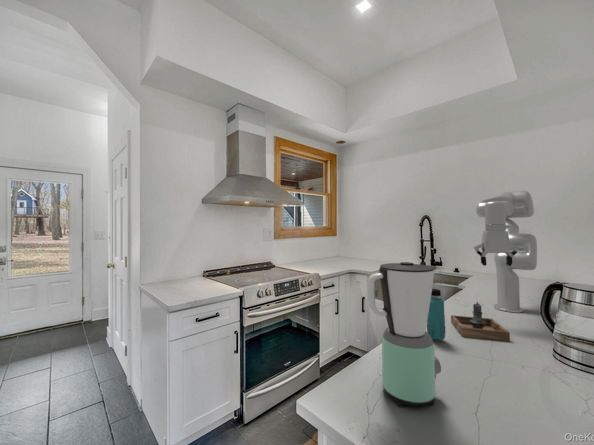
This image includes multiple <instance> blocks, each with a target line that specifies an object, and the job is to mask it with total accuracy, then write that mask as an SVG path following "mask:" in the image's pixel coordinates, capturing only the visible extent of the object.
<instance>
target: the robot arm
mask: <svg viewBox="0 0 594 445" xmlns="http://www.w3.org/2000/svg"><path fill="white" fill-rule="evenodd" d="M475 209H476V210H475V211H476V215H477V216H478V217H480V218H484V224H485V225H484V229H485V230H484V231H482V236H481V243H480V244H478V245H476V246H474V247H473V249H474V251H475V252H476V254H477V255H479V256H480V263H481V265H483V266H487V257H486V255H487V254H494V258H493V259H494V263H495V269H496V270H495V271H496V289H497V290H496V294H497V295H496V297H497V298H496V299H497V300H496V301H497V303H494V305H493V307H494V309H497V310H499V311H503V312H508V313H517V314H519V313H523V312H524V308H523V307H521V305H520V303H521V302H520V301H521V300H520V298H521V297H520V277H519V275H518V274H517V273H516V272H515V270H519V271H520V270H522V271H534V270H535V269H536V268H537V265H538V242H537V241H538V240H537V238H536V236H535V235H534V234H531V233H520V226H519V225H518V223H516V222H515V220H514V221H513V220H512V219H514V218H515V219H516V218H517V219H518V218H530V217H532V216H534V213H535V208H534V202H533V198H532V196H531V193H530V192H528V191H527V190H515V191H513V190H512V191H505V192H501V193H499V194H498V195H496V196H495V197H490V198H487V199H483V200H482V199H481V201H479V202H478V203H477V205H476V208H475ZM511 218H512V219H511ZM480 249H481V251H482V252H481V251H480Z"/></svg>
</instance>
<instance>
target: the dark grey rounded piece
mask: <svg viewBox="0 0 594 445" xmlns="http://www.w3.org/2000/svg"><path fill="white" fill-rule="evenodd" d="M472 308H473V309H472V315H473V316H472V317H473V319H470V323H471V325H472V326H473V327H471V328H477V329H483V327H485V324H486V322H485V321H483V320H482V318H483V316H482V314H483V312H482V305H481V304H479V302H478V301H476V303H474V304H473V306H472Z"/></svg>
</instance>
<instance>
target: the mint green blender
mask: <svg viewBox="0 0 594 445" xmlns="http://www.w3.org/2000/svg"><path fill="white" fill-rule="evenodd" d="M437 268H438V266H436V265H429V264H420V263H419V264H416V263H414V262H409V261H408V262H407V261H404V262H403V261H401V262H399V263H397V262H395V263H393V262H392V263H383V264H380V266H379V271H378V272H375V273H372V274H370V275H369V277H368V280H367V302H368V307H369V309H370V311H371V312H373V314H375V315H376V316H379V317H385V319H386V322H387V327H386V329H384V331H383V333H382V340H381V342H382V344H381V350H382V351H381V353H382V354H381V355H382V356H381V358H382V360H381V363H382V364H381V370H382V371H381V372H382V373H381V375H382V378H381V381H382V382H381V385H382V388H383V391H385V393H386V394H387V395H388V396H390V398H392V399H393V400H394V401H396V406H397V407H399V408H405V406H406V405H407V406H412V407H424V406H427V405H428V406H431V407H432V406H434V405H435V397H436V393H437V392H436V379H437V374H440V373H441V372H442V365H441V362H440V359H438V357H437V356H436V352H435V344H434V339H433V338H431V336H430V335H429V334H428V333H427V319H428V313H429V306H430V300H431V297H432V295H431V293H432V289H433V285H434V277H435V273H436V270H437ZM376 280H379V281H380V286H381V287H380V288H381V294H382V301H383V307H382V309H380V308H378V307H377V305H376V296H375V294H376V293H375V282H376Z"/></svg>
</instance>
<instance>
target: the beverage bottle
mask: <svg viewBox="0 0 594 445" xmlns="http://www.w3.org/2000/svg"><path fill="white" fill-rule="evenodd" d="M441 292H442V291H441V290H440V289H437V288H432V293H431V300H430V306H429V313H428V319H427V325H426V332H427V333H428V334H429V335H430V336H431V338H432V340H438V341H440V340H441V341H442V340H445V338H446V322H445V321H446V315H445V300H443V299H442V298H440V296H442V294H441Z"/></svg>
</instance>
